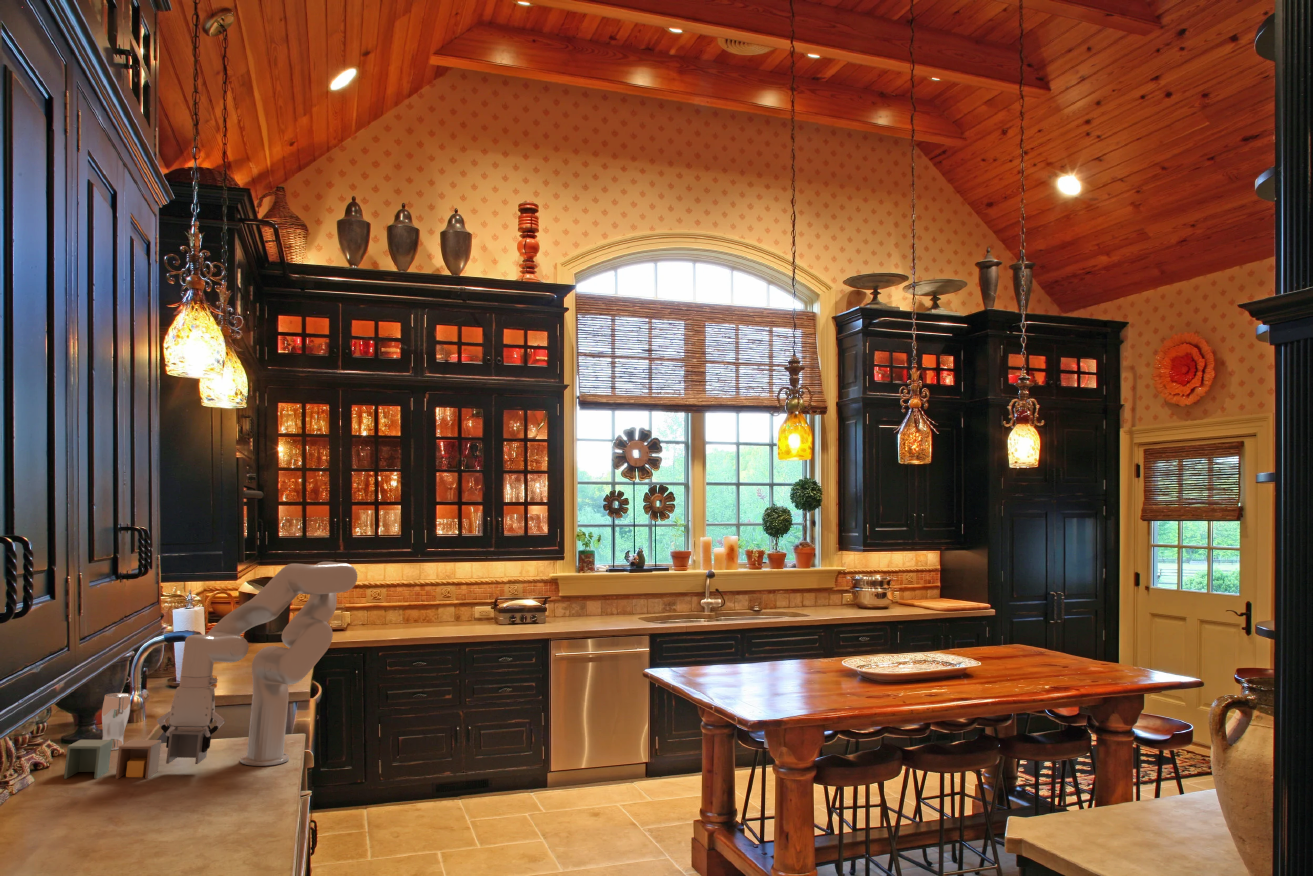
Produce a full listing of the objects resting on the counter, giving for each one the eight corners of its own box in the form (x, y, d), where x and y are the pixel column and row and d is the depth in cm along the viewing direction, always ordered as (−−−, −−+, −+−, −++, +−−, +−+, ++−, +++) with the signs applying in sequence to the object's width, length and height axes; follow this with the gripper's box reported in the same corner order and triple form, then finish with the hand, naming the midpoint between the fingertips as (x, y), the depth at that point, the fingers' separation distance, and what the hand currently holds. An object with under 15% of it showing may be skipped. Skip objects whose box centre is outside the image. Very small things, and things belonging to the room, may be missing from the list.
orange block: (131, 773, 238) (133, 757, 239) (148, 773, 239) (149, 757, 240) (125, 777, 234) (127, 761, 235) (142, 777, 235) (144, 761, 236)
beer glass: (120, 744, 268) (125, 692, 270) (129, 748, 263) (135, 695, 265) (93, 747, 263) (100, 694, 264) (103, 752, 258) (109, 697, 260)
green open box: (76, 771, 238) (80, 739, 239) (108, 771, 239) (112, 739, 240) (63, 778, 230) (67, 746, 231) (96, 778, 232) (100, 746, 232)
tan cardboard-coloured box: (126, 771, 240) (130, 739, 241) (158, 771, 241) (161, 740, 242) (115, 778, 232) (119, 746, 233) (147, 778, 234) (151, 746, 235)
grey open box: (175, 757, 242) (179, 726, 243) (206, 757, 243) (209, 726, 244) (165, 763, 235) (169, 731, 236) (197, 764, 236) (201, 732, 237)
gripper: (234, 681, 247) (226, 748, 244) (165, 679, 244) (156, 747, 241) (226, 685, 239) (218, 755, 237) (155, 683, 236) (146, 753, 234)
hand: (187, 750), depth 239 cm, fingers closed on grey open box, 7 cm apart
